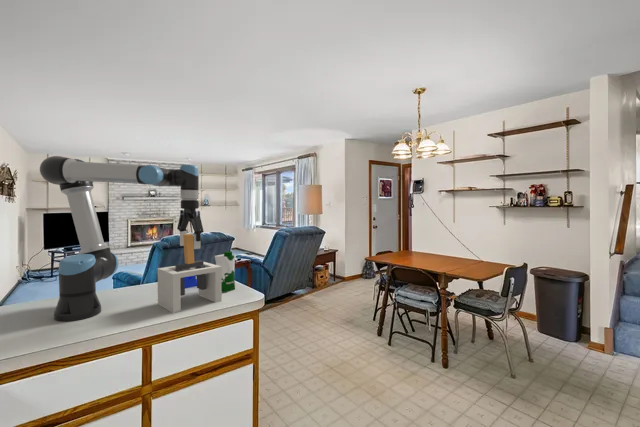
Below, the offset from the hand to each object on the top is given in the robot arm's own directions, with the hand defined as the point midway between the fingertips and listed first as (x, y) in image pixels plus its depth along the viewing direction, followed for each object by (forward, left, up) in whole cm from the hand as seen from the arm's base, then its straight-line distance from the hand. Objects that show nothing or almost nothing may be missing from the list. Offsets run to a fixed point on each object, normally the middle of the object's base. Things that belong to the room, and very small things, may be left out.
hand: (190, 247), depth 145 cm
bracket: (+17, +28, -26) cm, 41 cm away
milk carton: (+22, +7, -25) cm, 34 cm away
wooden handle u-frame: (+1, 0, -20) cm, 20 cm away
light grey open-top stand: (0, 0, -25) cm, 25 cm away
